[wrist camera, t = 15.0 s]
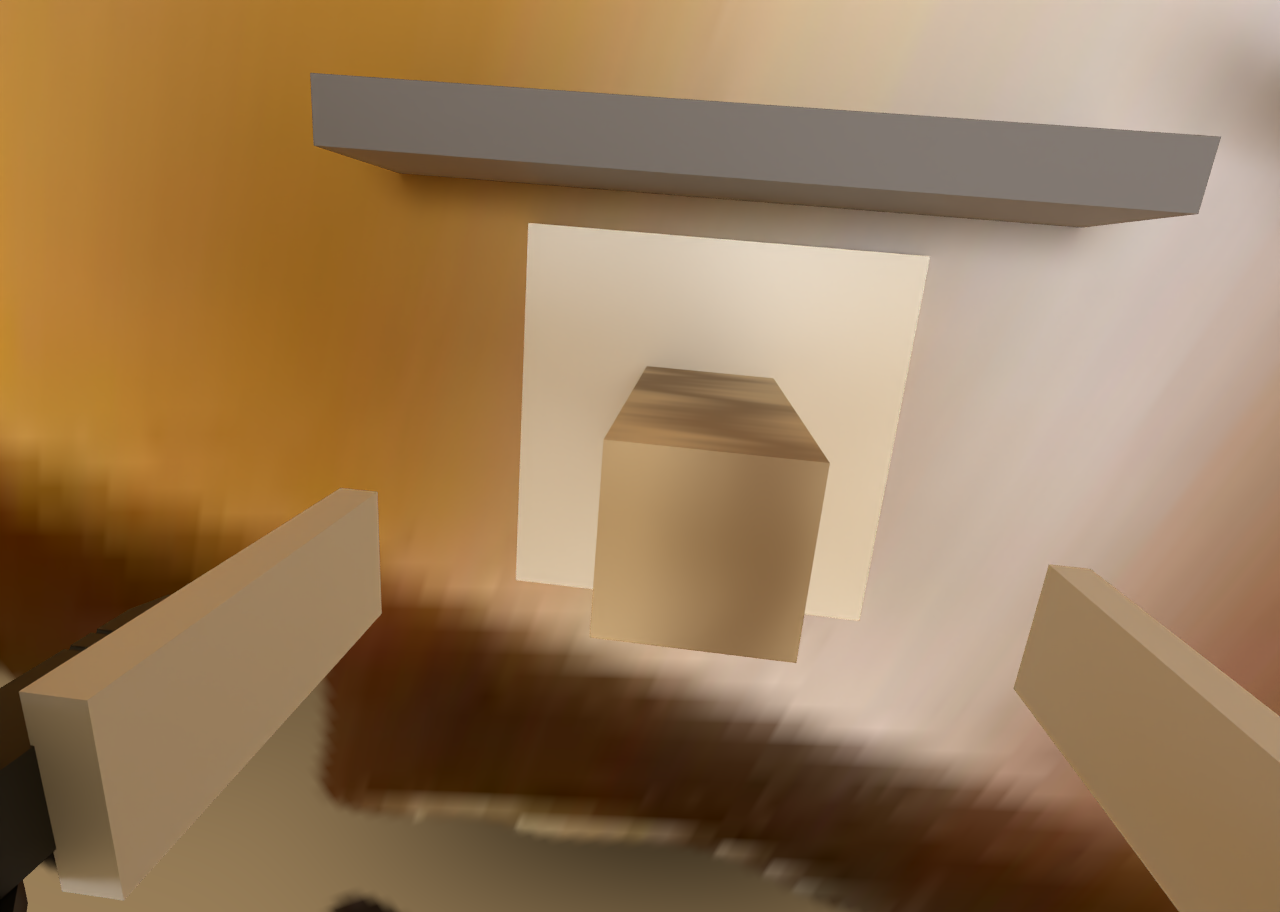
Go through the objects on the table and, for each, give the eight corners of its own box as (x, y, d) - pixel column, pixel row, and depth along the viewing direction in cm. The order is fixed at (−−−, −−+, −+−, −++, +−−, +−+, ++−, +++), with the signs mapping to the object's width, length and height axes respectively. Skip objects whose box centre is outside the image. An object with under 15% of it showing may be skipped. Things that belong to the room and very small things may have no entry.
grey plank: (399, 173, 26) (313, 145, 20) (398, 117, 26) (310, 73, 20) (1081, 227, 25) (1198, 213, 19) (1096, 168, 24) (1220, 136, 18)
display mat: (521, 570, 30) (515, 580, 29) (534, 224, 26) (528, 222, 25) (854, 609, 29) (859, 621, 28) (921, 256, 25) (930, 256, 24)
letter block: (636, 489, 28) (589, 644, 16) (646, 365, 26) (603, 439, 15) (756, 502, 27) (795, 670, 16) (773, 378, 26) (829, 462, 14)
